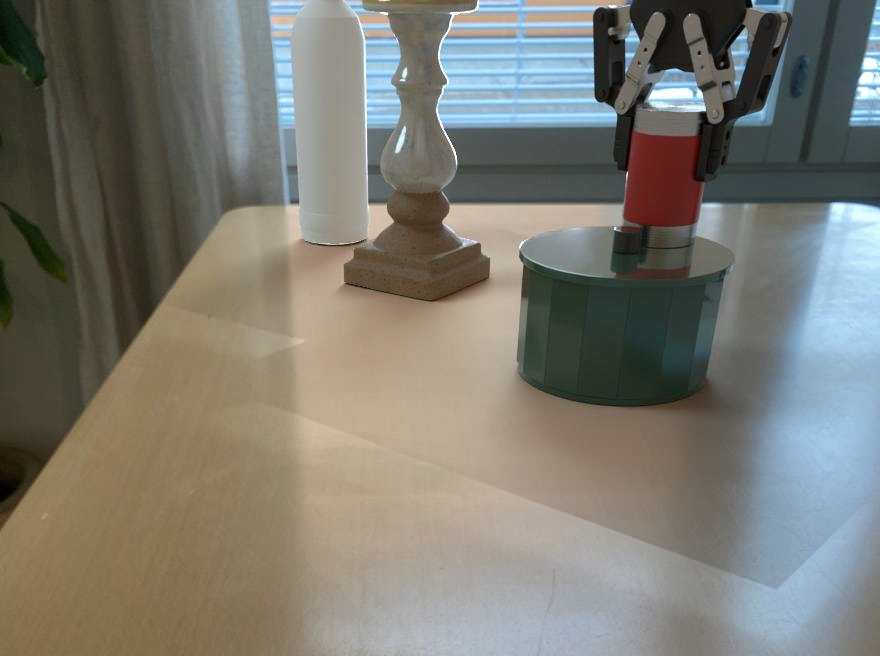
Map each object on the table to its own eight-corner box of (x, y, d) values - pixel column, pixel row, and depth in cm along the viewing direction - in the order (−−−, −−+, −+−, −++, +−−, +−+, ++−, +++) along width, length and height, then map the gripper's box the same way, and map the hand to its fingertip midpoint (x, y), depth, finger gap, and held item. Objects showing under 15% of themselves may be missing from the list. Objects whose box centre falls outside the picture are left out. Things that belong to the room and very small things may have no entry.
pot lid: (589, 232, 82) (593, 197, 80) (767, 264, 73) (776, 226, 72) (476, 270, 72) (478, 231, 70) (667, 312, 64) (673, 269, 62)
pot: (581, 329, 86) (592, 226, 81) (737, 367, 78) (760, 256, 73) (481, 374, 77) (486, 261, 72) (646, 422, 69) (665, 299, 64)
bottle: (382, 240, 112) (379, -87, 94) (323, 249, 108) (308, -88, 91) (345, 226, 117) (336, -85, 100) (288, 235, 113) (267, -86, 96)
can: (682, 229, 77) (702, 100, 72) (705, 247, 73) (728, 111, 67) (611, 231, 77) (626, 101, 72) (630, 249, 72) (647, 112, 67)
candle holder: (404, 259, 105) (405, -8, 91) (492, 276, 99) (507, -5, 86) (341, 283, 97) (331, -4, 84) (432, 301, 92) (438, -1, 78)
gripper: (841, -114, 61) (780, 180, 71) (637, -107, 68) (607, 157, 78) (792, -119, 56) (734, 196, 66) (579, -111, 64) (555, 170, 74)
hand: (665, 174), depth 72 cm, fingers closed on can, 5 cm apart
